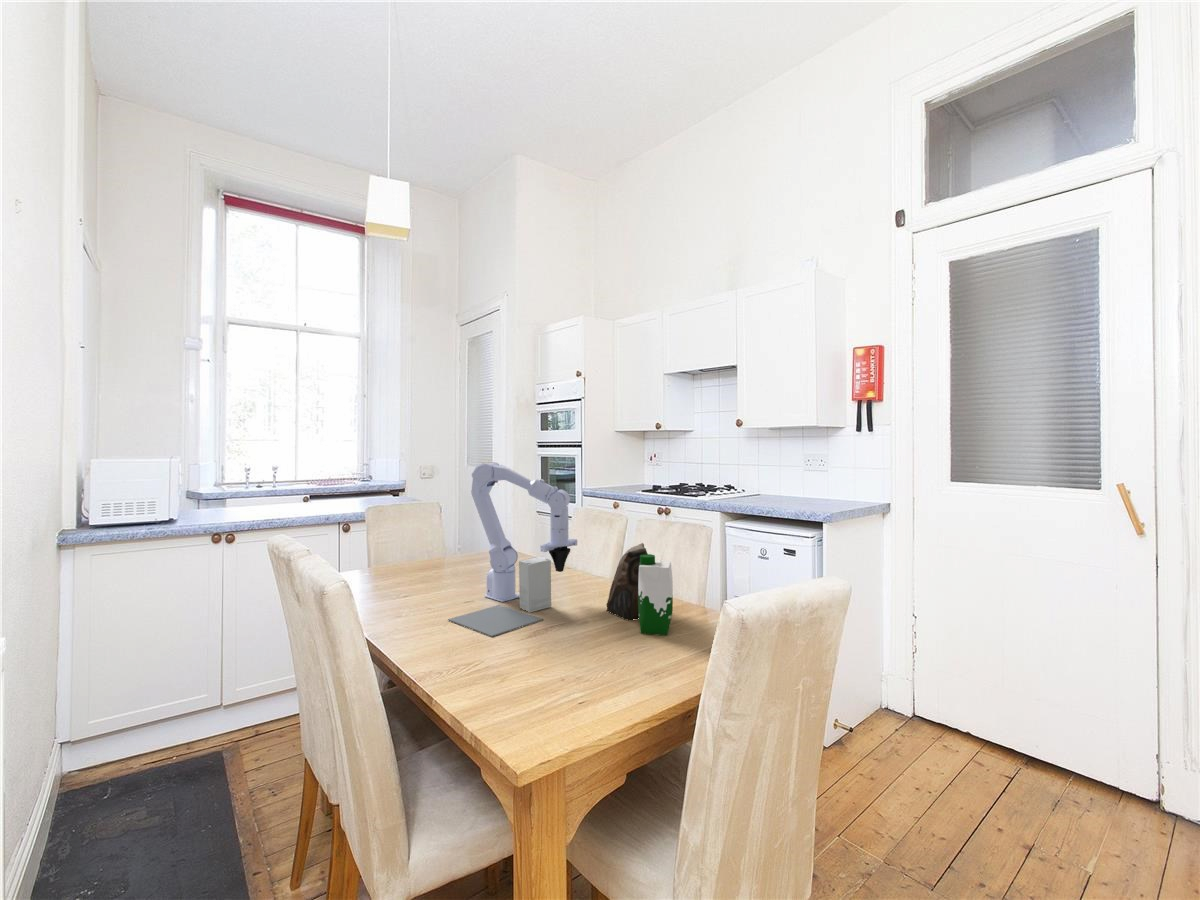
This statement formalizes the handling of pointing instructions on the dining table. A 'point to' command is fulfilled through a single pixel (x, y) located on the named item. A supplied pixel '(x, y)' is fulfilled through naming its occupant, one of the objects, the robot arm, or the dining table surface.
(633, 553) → the owl
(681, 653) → the dining table surface
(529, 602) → the skincare box
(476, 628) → the mat
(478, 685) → the dining table surface
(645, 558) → the milk carton
